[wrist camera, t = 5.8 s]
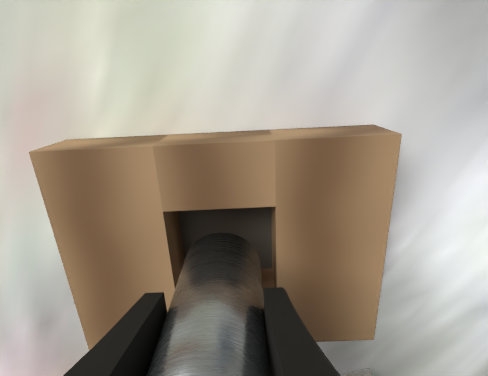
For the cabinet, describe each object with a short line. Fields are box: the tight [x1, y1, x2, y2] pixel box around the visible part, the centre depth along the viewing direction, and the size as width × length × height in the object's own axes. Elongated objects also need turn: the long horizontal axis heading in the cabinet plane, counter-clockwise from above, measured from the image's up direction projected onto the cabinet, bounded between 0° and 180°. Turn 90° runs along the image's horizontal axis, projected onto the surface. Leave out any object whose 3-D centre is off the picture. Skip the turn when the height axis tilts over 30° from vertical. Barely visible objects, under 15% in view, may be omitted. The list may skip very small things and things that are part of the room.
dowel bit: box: [147, 233, 271, 376], centre depth 9 cm, size 3×3×8 cm
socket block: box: [29, 125, 402, 350], centre depth 14 cm, size 14×10×2 cm
